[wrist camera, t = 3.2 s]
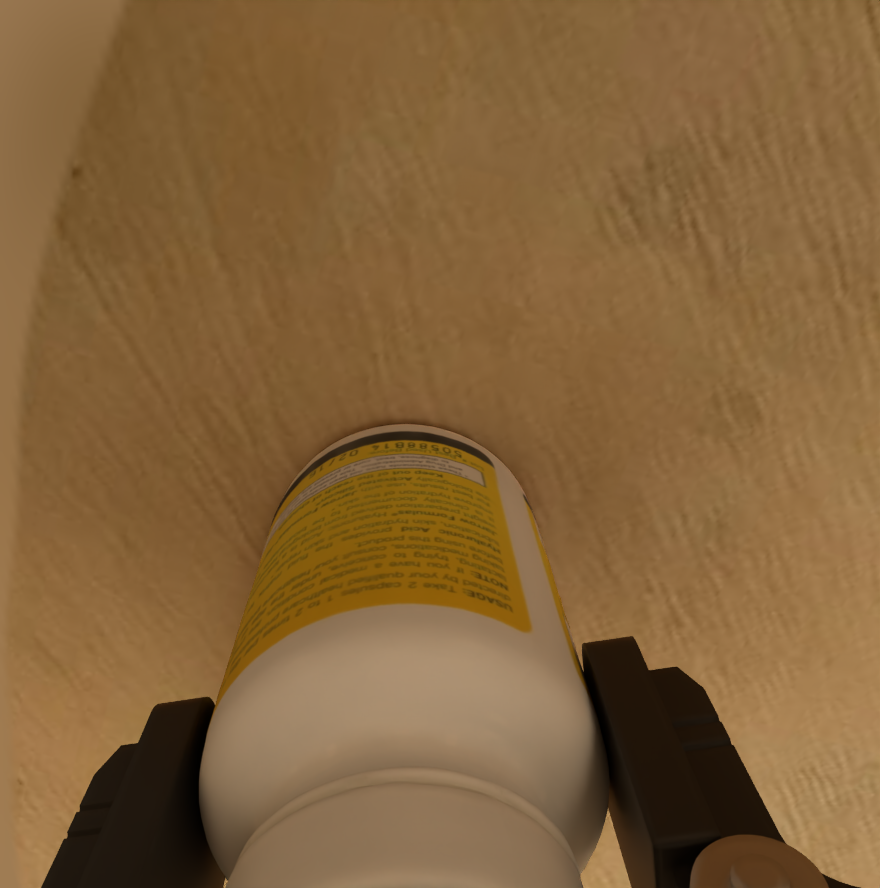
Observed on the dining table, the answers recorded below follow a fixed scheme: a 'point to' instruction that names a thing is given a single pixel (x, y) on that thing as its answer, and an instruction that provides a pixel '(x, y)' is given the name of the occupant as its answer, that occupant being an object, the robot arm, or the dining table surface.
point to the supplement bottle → (404, 686)
